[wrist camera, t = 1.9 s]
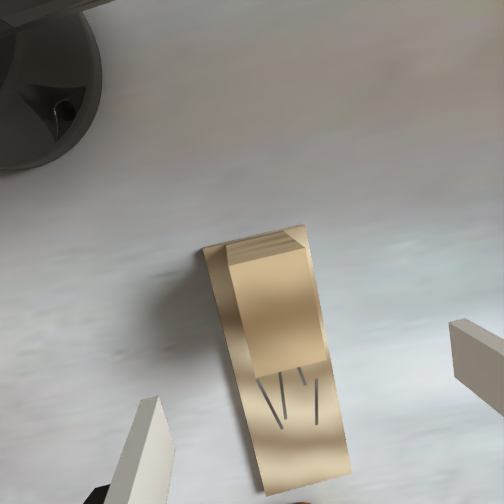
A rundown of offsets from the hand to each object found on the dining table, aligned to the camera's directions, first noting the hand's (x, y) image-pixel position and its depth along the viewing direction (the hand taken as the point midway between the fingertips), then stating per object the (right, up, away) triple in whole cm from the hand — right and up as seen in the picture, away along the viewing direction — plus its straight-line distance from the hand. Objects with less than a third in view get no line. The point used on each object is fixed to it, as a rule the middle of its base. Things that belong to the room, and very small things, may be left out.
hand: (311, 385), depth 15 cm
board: (0, -5, +18) cm, 19 cm away
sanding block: (-2, +3, +15) cm, 16 cm away
